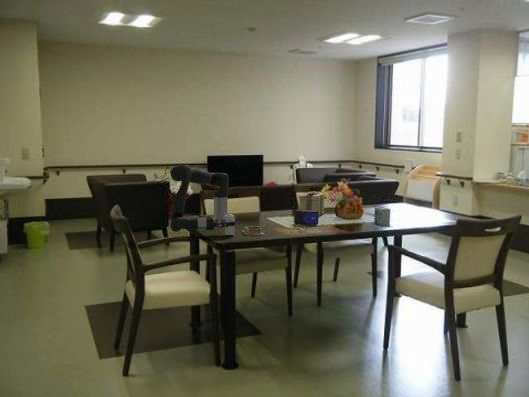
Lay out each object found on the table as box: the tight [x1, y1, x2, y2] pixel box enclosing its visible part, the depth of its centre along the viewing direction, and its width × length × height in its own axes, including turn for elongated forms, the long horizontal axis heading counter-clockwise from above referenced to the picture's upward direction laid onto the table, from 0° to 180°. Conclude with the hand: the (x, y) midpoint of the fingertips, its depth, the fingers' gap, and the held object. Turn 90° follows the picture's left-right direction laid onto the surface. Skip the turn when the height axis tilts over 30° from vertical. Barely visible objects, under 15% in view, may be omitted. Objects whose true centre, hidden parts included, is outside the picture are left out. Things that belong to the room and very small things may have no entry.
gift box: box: [298, 190, 326, 217], centre depth 392 cm, size 17×18×17 cm
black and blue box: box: [293, 209, 320, 226], centre depth 350 cm, size 16×5×9 cm, turn 81°
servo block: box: [224, 213, 236, 236], centre depth 311 cm, size 5×5×12 cm
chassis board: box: [241, 225, 265, 237], centre depth 318 cm, size 13×11×4 cm
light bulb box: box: [373, 206, 391, 226], centre depth 358 cm, size 11×7×11 cm, turn 14°
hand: (234, 222), depth 311 cm, fingers closed on servo block, 5 cm apart
